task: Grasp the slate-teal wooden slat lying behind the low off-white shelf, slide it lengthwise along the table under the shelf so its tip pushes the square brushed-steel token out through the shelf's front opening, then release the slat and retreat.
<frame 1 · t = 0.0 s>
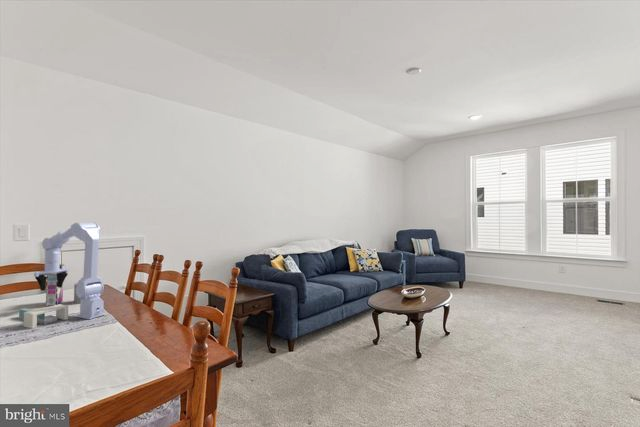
hand: (51, 288, 168), 10 cm above the table, fingers open, 7 cm apart
steel token: (47, 322, 148), on the table
plinth shelf: (46, 322, 147), on the table
slat blade: (31, 319, 152), on the table
candy bar box: (54, 304, 177), on the table
cup: (83, 302, 183), on the table
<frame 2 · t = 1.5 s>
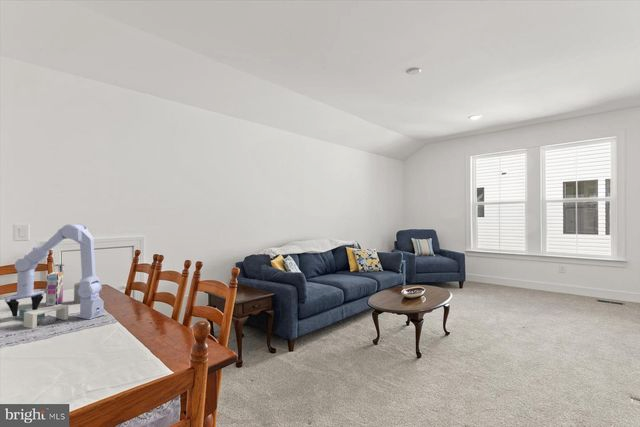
hand: (24, 314, 153), 2 cm above the table, fingers open, 7 cm apart
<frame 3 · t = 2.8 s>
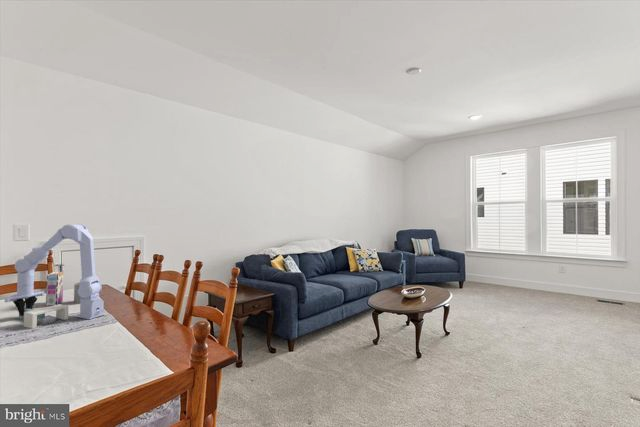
hand: (24, 314, 153), 1 cm above the table, fingers closed on slat blade, 2 cm apart
slat blade: (31, 318, 152), on the table, touching gripper
everything else where it was.
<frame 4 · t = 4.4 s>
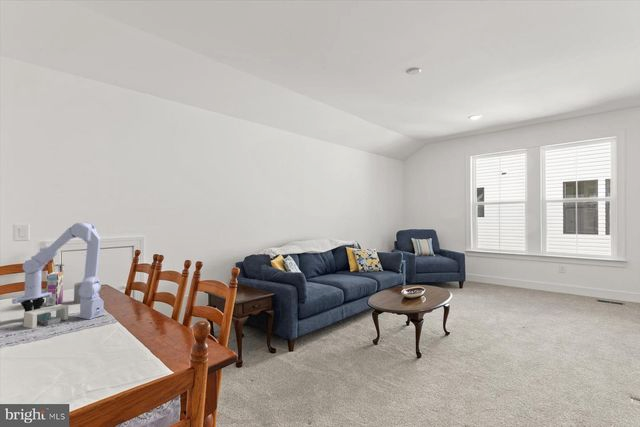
hand: (32, 315, 151), 1 cm above the table, fingers closed on slat blade, 2 cm apart
steel token: (50, 324, 146), on the table
slat blade: (37, 320, 150), on the table, touching gripper
everything else where it was.
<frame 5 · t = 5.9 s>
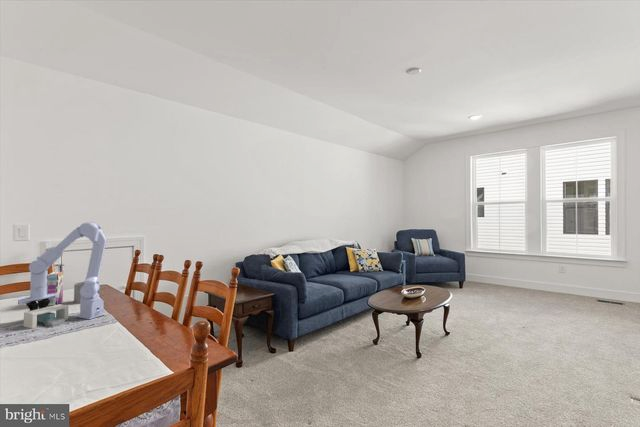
hand: (38, 317, 150), 1 cm above the table, fingers closed on slat blade, 2 cm apart
steel token: (54, 325, 145), on the table
slat blade: (41, 320, 149), on the table, touching gripper
everything else where it was.
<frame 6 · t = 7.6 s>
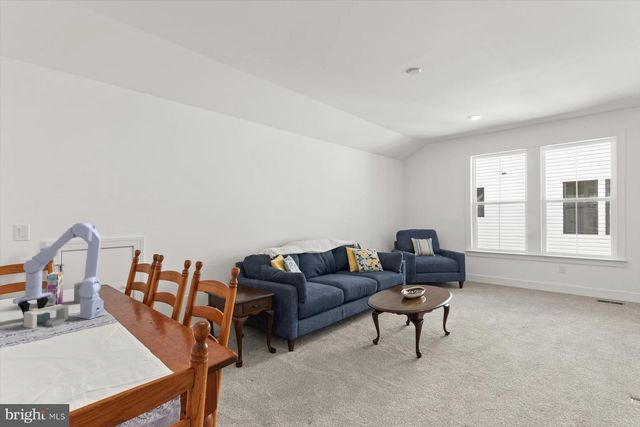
hand: (33, 316, 151), 1 cm above the table, fingers open, 5 cm apart
slat blade: (36, 320, 150), on the table
everything else where it was.
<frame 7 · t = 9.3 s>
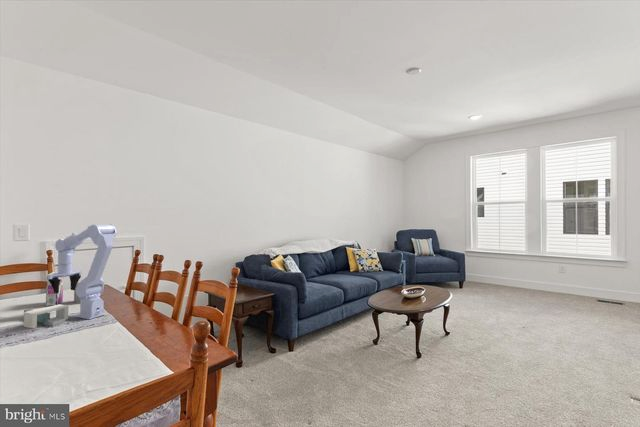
hand: (64, 291, 163), 10 cm above the table, fingers open, 7 cm apart
nothing on the table moved.
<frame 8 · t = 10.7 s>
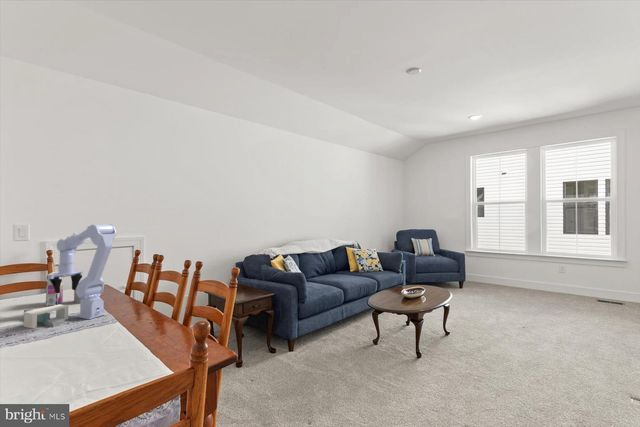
hand: (66, 291, 164), 10 cm above the table, fingers open, 7 cm apart
nothing on the table moved.
at the end: steel token inside the target area (9.0 cm from its centre), on the table; steel token moved 6.1 cm from its start; the gripper is holding nothing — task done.
